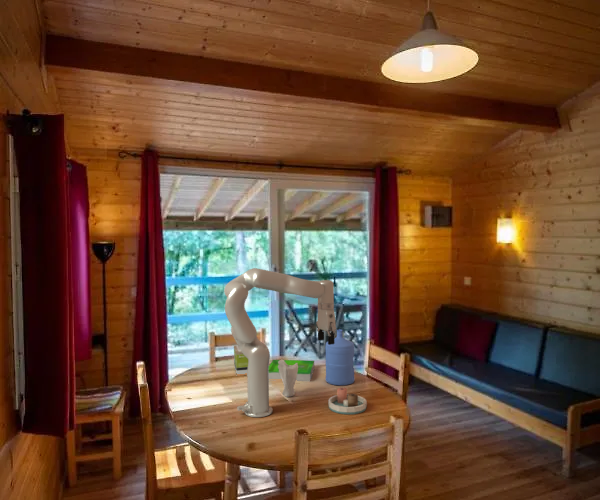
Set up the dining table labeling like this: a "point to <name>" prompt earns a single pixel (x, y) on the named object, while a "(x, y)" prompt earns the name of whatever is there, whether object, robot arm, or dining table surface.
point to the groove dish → (344, 407)
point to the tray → (302, 375)
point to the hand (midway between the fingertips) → (326, 342)
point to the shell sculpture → (288, 377)
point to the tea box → (240, 361)
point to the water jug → (340, 361)
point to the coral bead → (341, 395)
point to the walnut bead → (352, 400)
